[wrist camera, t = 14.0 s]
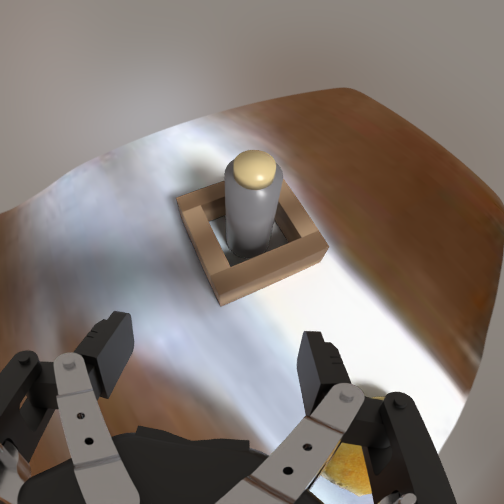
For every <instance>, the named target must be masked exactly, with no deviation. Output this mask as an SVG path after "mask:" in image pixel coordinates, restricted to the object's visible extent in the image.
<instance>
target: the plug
mask: <svg viewBox="0 0 504 504" xmlns="http://www.w3.org/2000/svg"><path fill="white" fill-rule="evenodd" d="M282 182H283V173H282V170H281V168H280V167H279V165H278V164H277V163H276V162H275V160H274V159H273V157H272V156H270V155H269V154H267V153H265V152H263V151H259V150H248V151H245V152H242V153H240V154H239V155H238V156H237V157H236V158H235V159H234V160H232V161H231V162H230V163H229V164H228V166H227V167H226V169H225V209H226V238H227V245H228V247H229V249H230V250H231V251H232V252H233V253H234V254H235V255H237V256H239V257H242V258H254V257H256V256H259V255H261V254H263V253H264V252H265V251H266V249H267V248H268V245H269V241H270V237H271V232H272V228H273V223H274V219H275V214H276V210H277V205H278V200H279V196H280V191H281V187H282Z"/></svg>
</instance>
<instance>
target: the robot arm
mask: <svg viewBox="0 0 504 504" xmlns="http://www.w3.org/2000/svg"><path fill="white" fill-rule="evenodd" d="M133 349H134V336H133V329H132V320H131V315H130V314H129V313H125V312H119V311H114V312H113V313H112V314H111V315H110V317H109V318H108V319H107V320H105V319H103V320H102V321H100V322H98V323H97V324H95V325H94V327H93V328H92V329H91V332H89V333H88V334H87V337H85V338H84V339H83V341H82V342H81V343H80V344H79V346H78V347H77V348H76V350H75V351H74V352H73V353H64V354H62V355H60V356H58V357H57V358H56V359H55V361H54V362H40V361H39V358H38V356H37V354H36V353H35V352H33V351H22V352H19V353H17V354H16V355H15V356H14V357H13V358H12V359H11V360H10V362H9V363H8V364H7V365H6V366H5V368H4V369H3V370H2V371H1V373H0V504H324V503H323V502H322V501H321V500H320V499H318V498H317V497H316V496H315V495H314V494H313V493H311V492H310V489H311V488H312V487H313V485H314V484H315V482H316V481H317V480H318V478H319V477H320V475H321V474H322V472H323V471H324V469H325V468H326V466H327V465H328V464H329V462H330V461H331V459H332V458H333V456H334V455H335V453H336V452H337V450H338V448H339V447H340V445H341V444H342V443H346V444H352V445H359V446H361V447H362V451H363V455H364V460H365V464H366V468H367V473H368V477H369V482H370V486H371V491H372V496H373V501H374V504H457V503H456V500H455V497H454V494H453V492H452V489H451V487H450V484H449V481H448V478H447V476H446V473H445V471H444V468H443V466H442V463H441V461H440V458H439V456H438V454H437V451H436V449H435V447H434V444H433V442H432V440H431V437H430V435H429V433H428V431H427V428H426V426H425V424H424V422H423V420H422V417H421V415H420V413H419V411H418V409H417V407H416V405H415V403H414V401H413V399H412V398H411V397H410V396H408V395H407V394H405V393H402V392H391V393H389V394H387V395H386V396H385V398H384V400H380V399H374V398H368V397H365V396H364V393H363V391H362V390H361V389H360V388H359V387H357V386H355V385H353V384H351V381H350V378H349V376H348V373H347V371H346V368H345V366H344V364H343V361H342V358H341V356H340V354H339V351H338V349H337V348H336V347H335V346H334V345H333V344H332V343H331V342H324V339H323V336H322V334H321V332H316V331H304V333H303V336H302V340H301V345H300V349H299V354H298V358H297V372H298V377H299V382H300V387H301V393H302V398H303V403H304V408H305V414H306V416H305V417H304V418H303V419H302V420H301V422H300V423H299V424H298V425H297V426H296V427H295V429H294V430H293V431H292V432H291V433H290V434H289V435H288V437H287V438H286V439H285V440H284V441H283V442H282V443H281V444H280V445H279V446H278V448H277V449H276V450H275V451H274V452H273V453H272V454H271V455H270V456H269V455H267V454H265V453H263V452H261V451H258V450H255V449H252V448H249V440H234V439H211V440H198V441H191V440H187V439H185V438H182V437H179V436H176V435H174V434H171V433H169V432H166V431H163V430H158V429H153V428H148V427H143V426H138V428H137V431H136V433H124V434H120V435H116V436H113V437H111V436H110V434H109V431H108V429H107V426H106V424H105V421H104V419H103V416H102V414H101V411H100V408H99V406H98V403H97V400H98V398H99V397H103V398H107V399H109V397H110V395H111V393H112V391H113V389H114V387H115V385H116V383H117V381H118V379H119V377H120V375H121V373H122V371H123V369H124V367H125V365H126V364H127V362H128V360H129V358H130V356H131V354H132V352H133ZM25 395H26V396H27V399H26V400H25V402H24V404H23V405H22V407H21V408H20V409H19V407H20V403H21V401H22V400H23V398H24V397H25ZM55 409H59V412H60V417H61V421H62V425H63V429H64V433H65V437H66V441H67V444H68V448H69V451H70V454H71V457H72V458H71V459H69V460H67V461H65V462H63V463H61V464H59V465H57V466H55V467H52V468H50V469H48V470H46V471H44V472H42V473H40V474H37V475H35V476H33V477H31V478H30V476H31V468H30V465H29V462H30V459H31V457H32V455H33V453H34V451H35V449H36V447H37V444H38V442H39V440H40V438H41V436H42V434H43V432H44V430H45V428H46V426H47V424H48V422H49V420H50V418H51V417H52V415H53V413H54V411H55Z"/></svg>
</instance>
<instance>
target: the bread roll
mask: <svg viewBox="0 0 504 504" xmlns="http://www.w3.org/2000/svg"><path fill="white" fill-rule="evenodd" d="M372 398H374V399H380V400H384V398H385V397H372ZM321 476H322V477H324V478H326V479H327V480H329V481H330V482H332V483H333V484H336V485H338V486H339V487H340V488H342V489H346V490H348V491H350V492H352V493H354V494H356V495H357V496H359V497H360V496H362V495H365V494H371V493H372V491H371V486H370V482H369V477H368V473H367V468H366V464H365V460H364V455H363V451H362V447H361V446H359V445H352V444H346V443H342V444H341V445H340V447H339V448H338V450H337V452H336V453H335V455H334V456H333V458H332V459H331V461H330V462H329V464H328V465H327V466H326V468H325V469H324V471H323V472H322V474H321Z"/></svg>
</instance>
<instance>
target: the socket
mask: <svg viewBox="0 0 504 504" xmlns="http://www.w3.org/2000/svg"><path fill="white" fill-rule="evenodd" d="M176 200H177V204H178V207H179V211H180V215H181V218H182V220H183V223H184V225H185V228H186V230H187V232H188V235H189V237H190V239H191V242H192V244H193V246H194V249H195V251H196V253H197V255H198V258H199V260H200V262H201V265H202V267H203V269H204V271H205V273H206V276H207V278H208V280H209V282H210V285H211V287H212V289H213V291H214V293H215V295H216V298H217V300H218V302H219V304H220V306H223V305H226V304H228V303H230V302H233V301H235V300H237V299H240V298H242V297H244V296H246V295H249V294H251V293H253V292H255V291H258V290H260V289H262V288H264V287H267V286H269V285H271V284H273V283H276V282H278V281H280V280H282V279H284V278H287V277H289V276H291V275H293V274H295V273H298V272H300V271H302V270H304V269H306V268H308V267H310V266H313V265H315V264H317V263H319V262H321V260H322V258H323V257H324V255H325V253H326V252H327V250H328V248H329V245H328V244H327V242H326V241H325V239H324V238H323V236H322V235H321V233H320V232H319V230H318V229H317V227H316V226H315V224H314V222H313V221H312V219H311V218H310V217H309V215H308V214H307V212H306V211H305V209H304V208H303V206H302V205H301V203H300V202H299V200H298V199H297V197H296V196H295V195H294V193H293V192H292V190H291V189H290V187H289V186H288V185H287V183H286V182H285V180H284V179H283V182H282V187H281V191H280V196H279V200H278V205H277V210H276V214H275V221H276V223H277V224H278V226H279V228H280V229H281V231H282V232H283V234H284V236H285V237H286V239H287V241H288V242H289V243H287V244H285V245H283V246H280V247H278V248H275V249H273V250H271V251H268V252H266V253H263V254H261V255H259V256H256V257H254V258H251V259H249V260H247V261H244V262H242V263H239V264H237V265H234V266H232V267H230V265H229V263H228V261H227V259H226V257H225V255H224V253H223V251H222V248H221V246H220V244H219V242H218V240H217V238H216V236H215V234H214V232H213V230H212V228H211V226H210V224H209V221H211V220H214V219H217V218H219V217H222V216H225V215H226V209H225V181H222V182H219V183H216V184H213V185H210V186H208V187H205V188H202V189H199V190H196V191H193V192H191V193H188V194H185V195H182V196H180V197H177V198H176Z"/></svg>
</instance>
